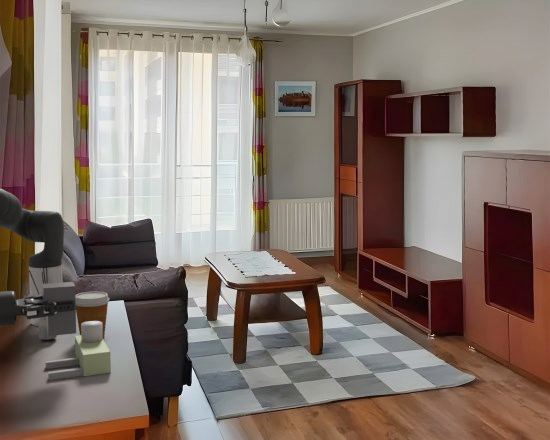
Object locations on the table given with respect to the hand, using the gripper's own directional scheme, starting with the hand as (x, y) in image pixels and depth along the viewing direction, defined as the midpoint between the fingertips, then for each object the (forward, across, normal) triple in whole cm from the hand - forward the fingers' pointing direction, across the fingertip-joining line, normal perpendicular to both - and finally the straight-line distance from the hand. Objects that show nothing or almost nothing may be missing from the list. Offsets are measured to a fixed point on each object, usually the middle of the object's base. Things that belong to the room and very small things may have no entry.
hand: (72, 302), depth 144 cm
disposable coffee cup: (+7, +24, +16) cm, 30 cm away
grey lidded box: (-3, 0, +7) cm, 7 cm away
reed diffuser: (-4, +28, +16) cm, 33 cm away
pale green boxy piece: (+1, +3, +16) cm, 16 cm away
